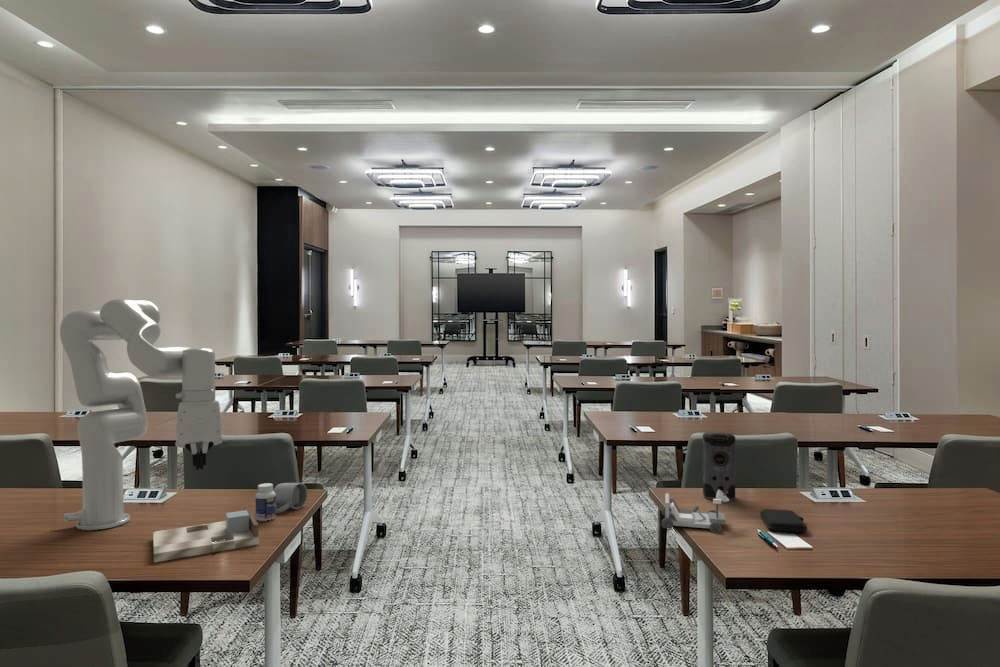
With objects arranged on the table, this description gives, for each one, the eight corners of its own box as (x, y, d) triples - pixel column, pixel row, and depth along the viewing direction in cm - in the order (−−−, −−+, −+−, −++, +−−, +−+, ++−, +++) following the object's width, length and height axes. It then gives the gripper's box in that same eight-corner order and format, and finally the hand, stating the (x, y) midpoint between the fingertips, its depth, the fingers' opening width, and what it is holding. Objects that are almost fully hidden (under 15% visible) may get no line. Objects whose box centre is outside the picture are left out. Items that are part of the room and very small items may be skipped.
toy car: (727, 486, 171) (732, 497, 160) (727, 521, 171) (732, 535, 160) (661, 482, 176) (661, 493, 164) (661, 516, 176) (661, 529, 164)
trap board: (153, 562, 142) (153, 541, 142) (153, 539, 157) (153, 520, 157) (258, 544, 153) (258, 524, 153) (248, 524, 169) (248, 506, 169)
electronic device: (705, 499, 191) (705, 436, 191) (702, 494, 197) (702, 432, 196) (736, 500, 189) (736, 436, 189) (732, 495, 195) (732, 433, 195)
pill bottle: (268, 522, 171) (268, 487, 171) (251, 521, 172) (251, 486, 172) (279, 516, 176) (279, 482, 176) (262, 515, 177) (262, 482, 177)
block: (228, 533, 156) (228, 518, 156) (226, 528, 160) (225, 512, 160) (249, 530, 158) (248, 515, 158) (246, 524, 162) (246, 510, 162)
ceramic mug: (286, 502, 190) (285, 478, 190) (308, 505, 187) (307, 480, 187) (262, 513, 180) (261, 487, 180) (285, 516, 177) (284, 489, 177)
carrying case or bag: (813, 537, 157) (799, 519, 171) (813, 525, 157) (799, 509, 171) (768, 534, 160) (758, 517, 174) (768, 523, 160) (758, 506, 174)
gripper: (165, 400, 148) (166, 475, 148) (232, 396, 155) (232, 468, 155) (165, 396, 154) (165, 468, 154) (229, 393, 162) (229, 462, 162)
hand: (199, 468), depth 155 cm, fingers closed
